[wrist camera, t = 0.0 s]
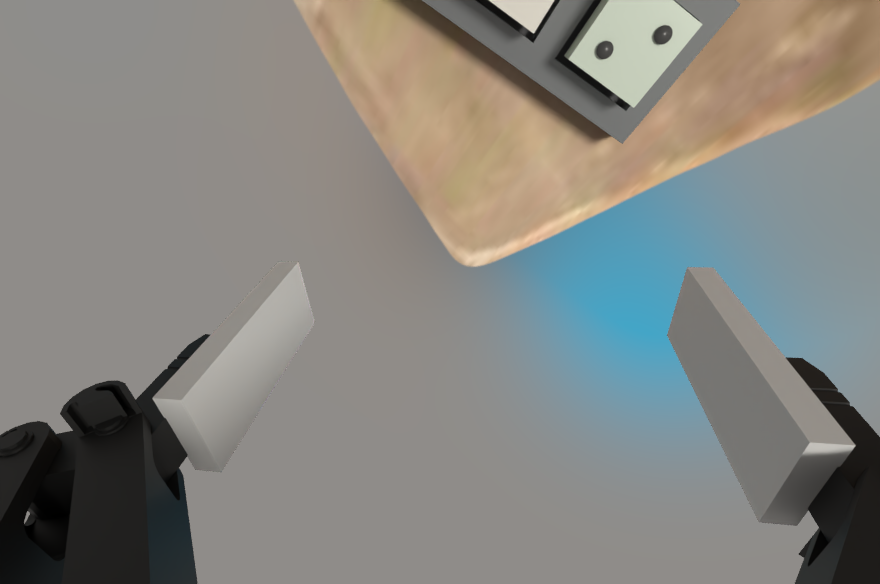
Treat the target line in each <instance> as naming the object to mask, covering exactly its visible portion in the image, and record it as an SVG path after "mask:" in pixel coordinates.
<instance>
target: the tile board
mask: <svg viewBox="0 0 880 584" xmlns="http://www.w3.org/2000/svg"><path fill="white" fill-rule="evenodd" d="M422 1H424V2H425V3H426V4H428V5H429V6H431V7H432V8H433V9H435V10H436V11H438V12H439V13H440V14H442V15H443V16H445V17H446V18H447V19H449V20H450V21H451V22H453V23H454V24H456V25H457V26H458V27H460V28H461V29H463V30H464V31H465V32H467V33H468V34H470V35H471V36H472V37H474V38H475V39H477V40H478V41H479V42H481V43H482V44H484V45H485V46H486V47H488V48H489V49H491V50H492V51H493V52H495V53H496V54H498V55H499V56H500V57H502V58H503V59H505V60H506V61H507V62H509V63H510V64H512V65H513V66H514V67H516V68H517V69H518V70H520V71H521V72H523V73H524V74H525V75H527V76H528V77H530V78H531V79H532V80H534V81H535V82H537V83H538V84H539V85H541V86H542V87H544V88H545V89H546V90H548V91H549V92H551V93H552V94H553V95H555V96H556V97H558V98H559V99H560V100H562V101H563V102H565V103H566V104H567V105H569V106H570V107H572V108H573V109H574V110H576V111H577V112H579V113H580V114H581V115H583V116H584V117H585V118H587V119H588V120H590V121H591V122H592V123H594V124H595V125H597V126H598V127H599V128H601V129H602V130H604V131H605V132H606V133H608V134H609V135H611V136H612V137H613V138H615V139H616V140H618V141H619V142H620V143H622V144H623V142H624V141H625V140H626V139H627V138H628V136H629V135H630V134H631V133H632V132H633V131H634V129H635V128H636V127H637V126H638V125H639V123H640V122H641V121H642V120H643V119H644V118H645V116H646V115H647V114H648V113H649V112H650V110H651V109H652V108H653V107H654V106H655V105H656V103H657V102H658V101H659V100H660V99H661V97H662V96H663V95H664V94H665V93H666V92H667V90H668V89H669V88H670V87H671V86H672V84H673V83H674V82H675V81H676V80H677V79H678V77H679V76H680V75H681V74H682V73H683V71H684V70H685V69H686V68H687V67H688V66H689V64H690V63H691V62H692V61H693V60H694V58H695V57H696V56H697V55H698V54H699V53H700V51H701V50H702V49H703V48H704V47H705V45H706V44H707V43H708V42H709V41H710V40H711V38H712V37H713V36H714V35H715V34H716V32H717V31H718V30H719V29H720V28H721V27H722V25H723V24H724V23H725V22H726V21H727V19H728V18H729V17H730V16H731V15H732V14H733V12H734V11H735V10H736V9H737V8H738V7H739V5H740V3H739V2H737V1H736V0H674V1H675V2H676V3H677V4H678V5H680V6H681V7H682V8H683V9H684V10H686V11H687V12H688V13H689V14H691V15H692V16H693V17H694V18H695V19H697V20H698V21H699V22H700V23H702V24H703V25H702V26H701V27H700V28H699V30H698V31H697V32H696V33H695V34H694V36H693V37H692V38H691V39H690V40H689V42H688V43H687V44H686V45H685V47H684V48H683V49H682V50H681V51H680V53H679V54H678V55H677V56H676V58H675V59H674V60H673V61H672V62H671V64H670V65H669V66H668V67H667V68H666V70H665V71H664V72H663V73H662V75H661V76H660V77H659V78H658V79H657V81H656V82H655V83H654V84H653V86H652V87H651V88H650V89H649V90H648V92H647V93H646V94H645V95H644V96H643V98H642V99H641V100H640V101H639V103H638V104H637V105H636V106H635V107H634V108H633V107H632V106H631V105H629V104H628V103H627V102H625V101H624V100H623V99H621V98H620V97H619V96H617V95H616V94H614V93H613V92H612V91H610V90H609V89H608V88H606V87H605V86H604V85H602V84H601V83H600V82H598V81H597V80H596V79H594V78H593V77H592V76H590V75H589V74H588V73H586V72H585V71H583V70H582V69H581V68H579V67H578V66H577V65H575V64H574V63H573V62H571V61H570V60H569V59H567V58H566V57H565V56H564V55H565V53H566V52H567V50H568V49H569V47H570V46H571V44H572V43H573V41H574V40H575V39H576V37H577V36H578V34H579V33H580V31H581V30H582V28H583V27H584V25H585V24H586V22H587V21H588V19H589V18H590V16H591V15H592V13H593V12H594V10H595V9H596V7H597V6H598V5H599V3H600V2H601V0H554V2H553V4H552V5H551V7H550V8H549V10H548V12H547V13H546V15H545V16H544V18H543V20H542V21H541V23H540V24H539V26H538V28H537V29H536V31H535V33H532V32H531V31H529V30H528V29H527V28H525V27H524V26H523V25H521V24H520V23H519V22H517V21H516V20H515V19H513V18H512V17H511V16H509V15H508V14H507V13H505V12H504V11H502V10H501V9H500V8H498V7H497V6H496V5H494V4H493V3H492V2H490V1H489V0H422Z"/></svg>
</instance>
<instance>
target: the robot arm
mask: <svg viewBox="0 0 880 584" xmlns="http://www.w3.org/2000/svg"><path fill="white" fill-rule="evenodd" d="M314 323H315V321H314V317H313V314H312V310H311V306H310V303H309V299H308V295H307V292H306V288H305V285H304V281H303V277H302V273H301V270H300V266H299V263H298V262H281V261H279V262H278V263H277V264H276V265H275V266H274V267H273V268H272V269H271V270H270V271H269V272H268V273H267V275H266V276H265V277H264V278H263V279H262V280H261V281H260V282H259V283H258V284H257V285H256V287H255V288H254V289H253V290H252V291H251V292H250V293H249V294H248V295H247V296H246V297H245V298H244V299H243V300H242V302H241V303H240V304H239V305H238V306H237V307H236V308H235V309H234V310H233V311H232V312H231V314H230V315H229V316H228V317H227V318H226V319H225V320H224V321H223V322H222V323H221V324H220V325H219V326H218V328H217V329H216V330H215V331H214V332H213V333H212V334H211V335H208V334H205V335H203V336H202V337H200V338H199V339H197V340H196V341H194V342H192V343H191V344H189V345H188V346H187V347H186V348H185V349H184V350H183V351H182V352H181V354H179V356H178V357H177V359H175V360H174V361H173V362H172V363H171V364H170V365H169V366H168V369H165V370H164V371H163V372H162V373H161V374H160V375H159V376H158V377H157V378H156V379H155V380H154V381H153V382H152V384H151V385H150V386H149V387H148V388H147V389H146V390H145V391H144V392H143V393H142V394H141V395H140V396H139V397H138V398H137V399H136V400H135V399H134V397H133V395H132V394H131V392H130V391H129V389H128V387H127V386H126V385H125V383H123V382H120V381H106V382H102V383H99V384H95V385H93V386H91V387H89V388H86V389H84V390H83V391H81V392H79V393H78V394H76V395H75V396H73V397H72V398H71V399H70V400H69V401H68V402H67V403H66V404H65V405H64V407H63V409H62V411H61V413H60V414H61V415H62V417H63V418H64V419H65V421H66V422H67V423H68V424H69V426H70V427H71V428H72V429H73V431H70V432H64V433H59V434H55V432H54V431H53V430H52V429H51V427H50V426H49V425H48V424H47V423H44V422H40V421H37V422H30V423H26V424H23V425H20V426H18V427H15V428H12V429H10V430H9V431H6V432H5V433H3V434H1V435H0V584H197V577H196V569H195V561H194V554H193V546H192V539H191V532H190V523H189V517H188V509H187V501H186V493H185V486H184V478H183V474H182V472H181V470H180V469H179V467H180V465H181V464H182V462H183V461H184V460H185V458H186V457H188V458H189V460H190V461H191V463H192V465H193V466H194V468H195V470H204V471H215V472H222V470H223V469H224V467H225V466H226V464H227V462H228V461H229V459H230V458H231V456H232V454H233V453H234V451H235V450H236V448H237V446H238V445H239V443H240V442H241V440H242V438H243V437H244V435H245V434H246V432H247V430H248V429H249V427H250V426H251V424H252V422H253V421H254V419H255V418H256V416H257V414H258V413H259V411H260V410H261V408H262V406H263V405H264V403H265V401H266V400H267V398H268V397H269V395H270V394H271V392H272V390H273V389H274V387H275V386H276V384H277V382H278V381H279V379H280V378H281V376H282V374H283V373H284V371H285V370H286V368H287V366H288V365H289V363H290V362H291V360H292V358H293V357H294V355H295V354H296V352H297V350H298V349H299V347H300V346H301V344H302V343H303V341H304V339H305V338H306V336H307V335H308V333H309V331H310V330H311V328H312V327H313V325H314ZM667 336H668V338H669V340H670V342H671V344H672V346H673V348H674V350H675V352H676V354H677V356H678V358H679V360H680V362H681V365H682V367H683V368H684V371H685V373H686V374H687V377H688V379H689V381H690V383H691V385H692V387H693V389H694V391H695V393H696V395H697V397H698V399H699V401H700V403H701V405H702V407H703V409H704V411H705V413H706V415H707V417H708V420H709V422H710V423H711V426H712V427H713V430H714V432H715V434H716V436H717V438H718V440H719V442H720V444H721V446H722V448H723V450H724V452H725V454H726V456H727V458H728V460H729V462H730V464H731V466H732V468H733V470H734V473H735V475H736V476H737V479H738V481H739V483H740V485H741V487H742V489H743V491H744V493H745V495H746V497H747V499H748V501H749V503H750V505H751V507H752V509H753V511H754V513H755V515H756V517H757V519H758V521H759V522H762V523H773V524H784V525H795V526H796V525H798V524H799V522H800V521H801V519H802V518H803V517H804V515H805V514H806V513H807V511H808V510H809V511H810V513H811V515H812V517H813V518H814V520H815V522H816V523H817V525H818V526H819V529H818V530H817V531H816V533H815V534H814V535H813V536H812V538H811V539H810V540H809V541H808V543H807V544H806V545H805V547H804V548H803V549H802V550H801V552H800V553H799V555H801V556H802V557H804V561H803V563H802V566H801V569H800V571H799V574H798V577H797V579H796V582H795V584H880V437H879V436H878V435H877V433H875V431H874V430H873V429H872V428H871V427H870V426H869V424H868V423H867V422H866V421H865V420H864V419H863V417H862V416H861V415H860V414H859V413H858V412H857V411H856V409H855V408H854V407H852V406H850V403H849V401H848V400H847V399H846V398H845V397H844V396H843V395H842V393H840V392H838V389H837V388H836V387H835V385H834V384H833V383H832V382H831V381H830V380H829V379H828V377H827V376H826V375H825V374H824V373H823V372H821V371H820V370H819V369H817V368H816V367H814V366H813V365H811V364H810V363H808V362H807V361H805V360H804V359H803V358H785V357H784V355H783V354H782V353H781V352H780V350H779V349H778V348H777V347H776V345H775V344H774V343H773V342H772V341H771V339H770V338H769V337H768V335H767V334H766V333H765V332H764V330H763V329H762V328H761V327H760V325H759V324H758V323H757V322H756V320H755V319H754V318H753V317H752V315H751V314H750V313H749V312H748V311H747V309H746V308H745V307H744V305H743V304H742V303H741V302H740V300H739V299H738V298H737V297H736V296H735V294H734V293H733V292H732V291H731V289H730V288H729V287H728V286H727V284H726V283H725V282H724V280H723V279H722V278H721V277H720V275H719V274H718V273H717V272H716V270H715V269H714V268H700V267H698V268H697V267H696V268H695V267H688V268H687V270H686V273H685V276H684V281H683V283H682V287H681V290H680V293H679V297H678V300H677V304H676V307H675V310H674V314H673V317H672V321H671V324H670V328H669V331H668V334H667ZM27 511H29V512H30V515H29V517H28V519H27V521H26V523H25V524H24V519H25V516H26V513H27Z"/></svg>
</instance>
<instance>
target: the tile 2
mask: <svg viewBox="0 0 880 584" xmlns="http://www.w3.org/2000/svg"><path fill="white" fill-rule="evenodd" d="M702 25H703V24H702V23H700V22H699V21H698V20H697V19H695V18H694V17H693V16H692V15H691V14H689V13H688V12H687V11H686V10H684V9H683V8H682V7H681V6H680V5H678V4H677V3H676V2H675V1H674V0H601V2H600V3H599V5H598V6H597V7H596V9H595V10H594V12H593V13H592V15H591V16H590V18H589V19H588V21H587V22H586V24H585V25H584V27H583V28H582V30H581V31H580V33H579V34H578V36H577V37H576V39H575V40H574V41H573V43H572V44H571V46H570V47H569V49H568V50H567V52H566V53H565V55H564V56H565V57H566V58H567V59H569V60H570V61H571V62H573V63H574V64H575V65H577V66H578V67H579V68H581V69H582V70H583V71H585V72H586V73H588V74H589V75H590V76H592V77H593V78H594V79H596V80H597V81H598V82H600V83H601V84H602V85H604V86H605V87H606V88H608V89H609V90H610V91H612V92H613V93H614V94H616V95H617V96H619V97H620V98H621V99H623V100H624V101H625V102H627V103H628V104H629V105H631V106H632V107H633V108H634V107H635V106H636V105H637V104H638V103H639V101H640V100H641V99H642V98H643V96H644V95H645V94H646V93H647V92H648V90H649V89H650V88H651V87H652V86H653V84H654V83H655V82H656V81H657V79H658V78H659V77H660V76H661V75H662V73H663V72H664V71H665V70H666V68H667V67H668V66H669V65H670V64H671V62H672V61H673V60H674V59H675V58H676V56H677V55H678V54H679V53H680V51H681V50H682V49H683V48H684V47H685V45H686V44H687V43H688V42H689V40H690V39H691V38H692V37H693V36H694V34H695V33H696V32H697V31H698V30H699V28H700V27H701V26H702Z"/></svg>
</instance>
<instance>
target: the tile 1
mask: <svg viewBox="0 0 880 584" xmlns="http://www.w3.org/2000/svg"><path fill="white" fill-rule="evenodd" d="M489 1H490V2H492V3H493V4H494V5H496V6H497V7H498V8H500V9H501V10H502V11H504V12H505V13H507V14H508V15H509V16H511V17H512V18H513V19H515V20H516V21H517V22H519V23H520V24H521V25H523V26H524V27H525V28H527V29H528V30H529V31H531V32H532V33H535V31H536V29H537V28H538V26H539V24H540V23H541V21H542V20H543V18H544V16H545V15H546V13H547V12H548V10H549V8H550V7H551V5H552V4H553V2H554V0H489Z"/></svg>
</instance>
